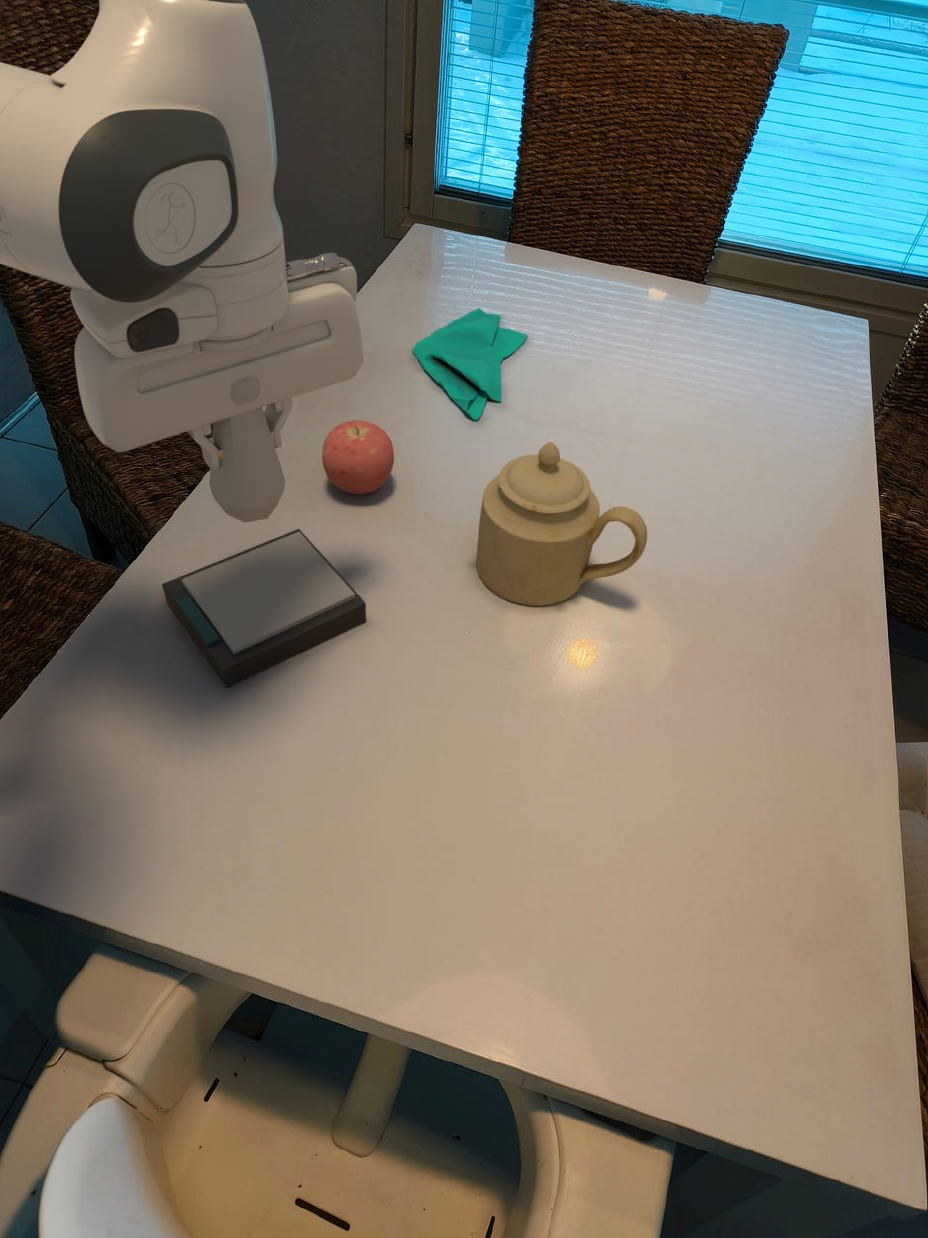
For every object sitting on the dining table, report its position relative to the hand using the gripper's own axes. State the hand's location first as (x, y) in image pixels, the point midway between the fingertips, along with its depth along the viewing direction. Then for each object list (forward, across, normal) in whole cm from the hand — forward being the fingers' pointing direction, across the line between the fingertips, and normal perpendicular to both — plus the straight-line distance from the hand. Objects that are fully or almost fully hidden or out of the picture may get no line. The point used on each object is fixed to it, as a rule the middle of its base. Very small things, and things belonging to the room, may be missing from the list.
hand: (243, 454), depth 65 cm
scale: (+18, 0, 0) cm, 18 cm away
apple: (+18, -17, -11) cm, 27 cm away
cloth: (+18, -43, -26) cm, 53 cm away
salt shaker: (+5, 0, 0) cm, 5 cm away
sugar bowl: (+18, -26, +10) cm, 33 cm away
